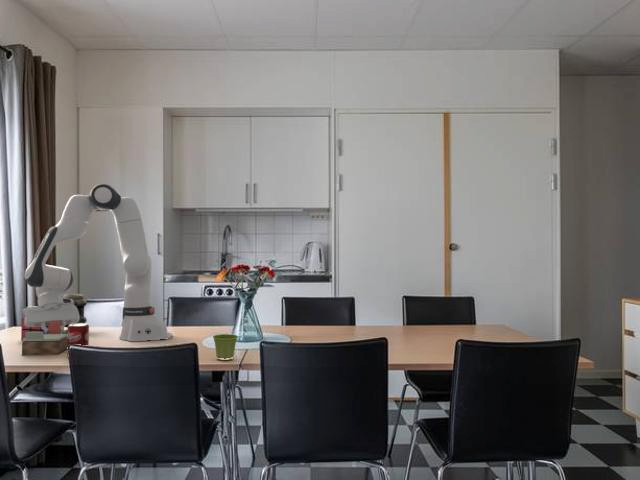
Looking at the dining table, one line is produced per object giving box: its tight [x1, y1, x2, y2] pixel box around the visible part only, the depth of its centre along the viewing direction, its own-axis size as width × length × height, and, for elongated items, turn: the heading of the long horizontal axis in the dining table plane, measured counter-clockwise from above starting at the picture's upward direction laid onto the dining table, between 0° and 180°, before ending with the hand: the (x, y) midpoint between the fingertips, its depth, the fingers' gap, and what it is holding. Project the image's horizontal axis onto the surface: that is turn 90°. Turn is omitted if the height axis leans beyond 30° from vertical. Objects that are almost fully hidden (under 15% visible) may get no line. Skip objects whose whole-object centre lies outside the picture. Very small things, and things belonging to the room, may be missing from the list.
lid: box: [22, 332, 68, 342], centre depth 195 cm, size 13×10×3 cm
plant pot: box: [212, 333, 239, 359], centre depth 188 cm, size 9×9×9 cm
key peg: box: [48, 321, 62, 334], centre depth 206 cm, size 4×4×10 cm
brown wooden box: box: [21, 337, 67, 356], centre depth 195 cm, size 13×10×5 cm
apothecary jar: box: [61, 293, 88, 334], centre depth 237 cm, size 12×12×18 cm
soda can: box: [66, 322, 90, 357], centre depth 189 cm, size 7×7×12 cm
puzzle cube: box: [20, 316, 48, 342], centre depth 221 cm, size 10×10×10 cm
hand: (54, 332), depth 205 cm, fingers closed on key peg, 4 cm apart
